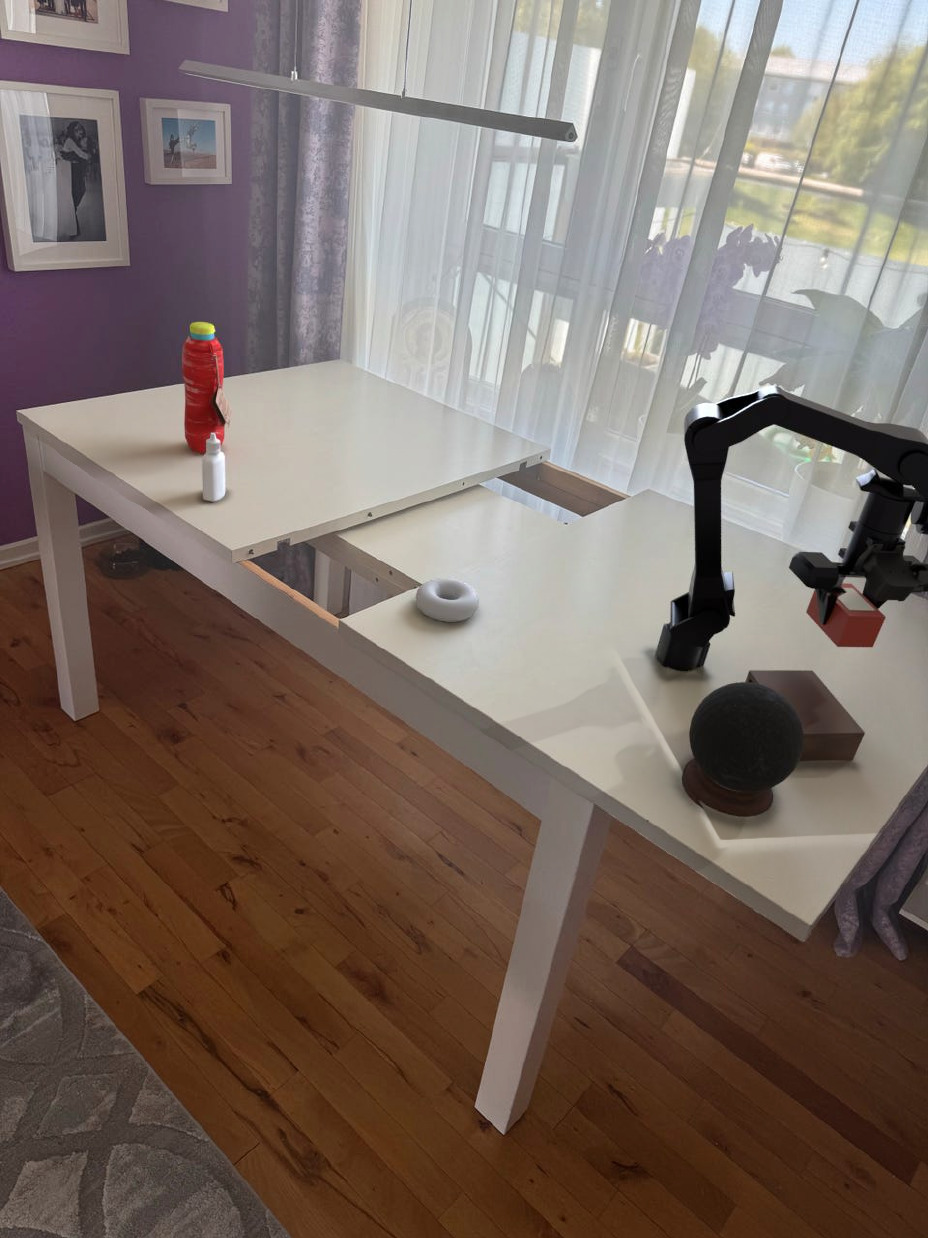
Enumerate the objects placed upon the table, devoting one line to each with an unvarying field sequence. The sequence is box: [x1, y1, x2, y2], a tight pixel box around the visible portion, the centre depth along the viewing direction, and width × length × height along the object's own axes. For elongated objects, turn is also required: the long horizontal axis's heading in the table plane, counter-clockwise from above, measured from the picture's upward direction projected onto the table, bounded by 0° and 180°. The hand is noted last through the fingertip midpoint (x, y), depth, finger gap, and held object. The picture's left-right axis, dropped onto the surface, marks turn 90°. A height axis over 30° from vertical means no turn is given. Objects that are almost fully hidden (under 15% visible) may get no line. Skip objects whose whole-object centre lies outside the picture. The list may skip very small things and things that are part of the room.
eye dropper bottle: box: [201, 433, 226, 502], centre depth 162 cm, size 4×6×12 cm
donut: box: [414, 577, 480, 623], centre depth 141 cm, size 10×4×10 cm
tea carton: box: [805, 582, 887, 648], centre depth 127 cm, size 6×9×5 cm, turn 10°
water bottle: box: [181, 321, 233, 455], centre depth 176 cm, size 12×8×25 cm, turn 46°
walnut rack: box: [744, 669, 866, 762], centre depth 124 cm, size 10×14×5 cm
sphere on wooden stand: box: [681, 681, 804, 818], centre depth 110 cm, size 13×13×15 cm
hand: (840, 623), depth 128 cm, fingers closed on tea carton, 5 cm apart
